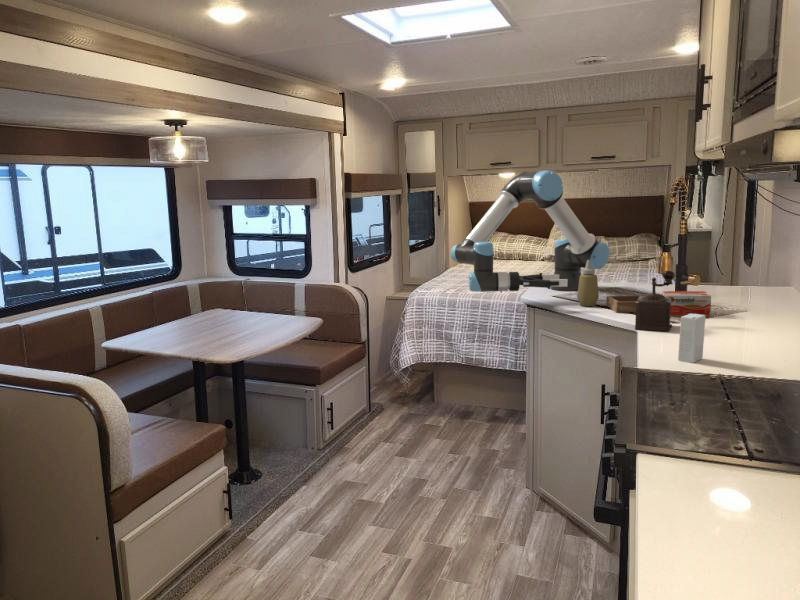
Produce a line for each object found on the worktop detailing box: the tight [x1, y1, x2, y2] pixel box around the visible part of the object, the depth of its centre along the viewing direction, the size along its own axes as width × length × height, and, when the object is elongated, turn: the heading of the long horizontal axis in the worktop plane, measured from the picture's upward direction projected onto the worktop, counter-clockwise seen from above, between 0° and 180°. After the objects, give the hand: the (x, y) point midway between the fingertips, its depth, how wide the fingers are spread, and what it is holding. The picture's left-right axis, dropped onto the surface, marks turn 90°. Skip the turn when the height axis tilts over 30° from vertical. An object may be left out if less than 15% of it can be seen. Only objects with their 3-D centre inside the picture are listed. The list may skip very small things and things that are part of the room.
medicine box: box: [661, 290, 712, 318], centre depth 222 cm, size 15×8×8 cm, turn 77°
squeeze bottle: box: [576, 260, 600, 308], centre depth 242 cm, size 8×8×18 cm
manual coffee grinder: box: [634, 270, 676, 333], centre depth 204 cm, size 16×11×18 cm
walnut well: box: [605, 294, 644, 314], centre depth 234 cm, size 13×13×4 cm
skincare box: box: [677, 314, 706, 364], centre depth 165 cm, size 6×4×12 cm
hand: (563, 280), depth 242 cm, fingers open, 13 cm apart
